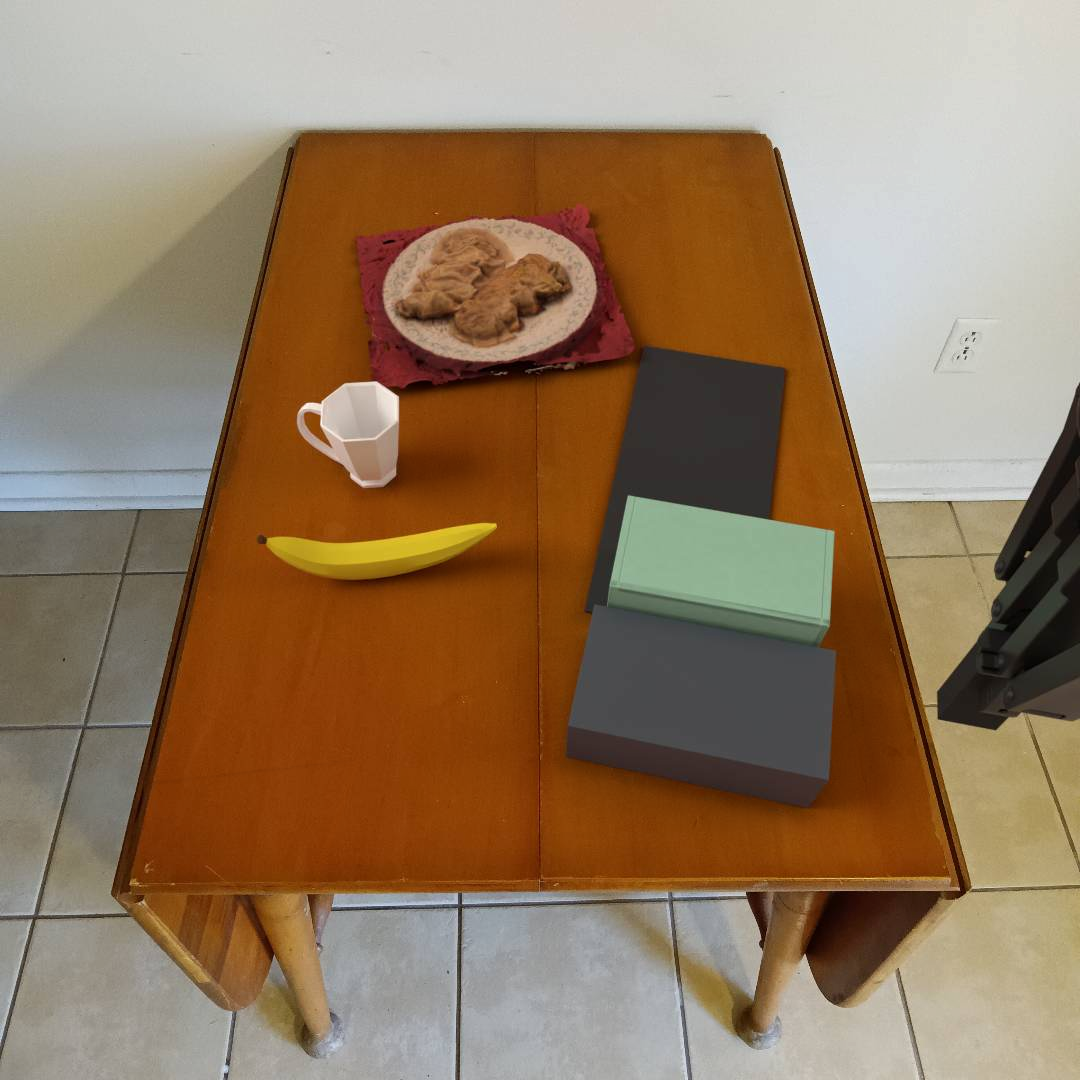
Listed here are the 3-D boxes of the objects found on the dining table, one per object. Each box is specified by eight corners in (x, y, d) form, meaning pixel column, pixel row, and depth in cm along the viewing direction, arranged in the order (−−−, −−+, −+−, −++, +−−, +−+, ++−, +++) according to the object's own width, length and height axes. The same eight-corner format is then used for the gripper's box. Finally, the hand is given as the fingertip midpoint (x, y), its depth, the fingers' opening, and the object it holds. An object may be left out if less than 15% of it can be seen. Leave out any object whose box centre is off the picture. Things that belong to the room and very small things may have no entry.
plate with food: (635, 366, 94) (639, 340, 91) (374, 396, 91) (369, 370, 88) (585, 216, 107) (587, 189, 104) (356, 237, 104) (351, 211, 101)
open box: (803, 675, 75) (809, 584, 79) (829, 626, 68) (834, 530, 73) (603, 637, 76) (620, 550, 81) (609, 586, 70) (628, 494, 74)
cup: (394, 509, 84) (382, 451, 77) (291, 481, 85) (270, 422, 79) (424, 450, 88) (414, 390, 81) (324, 424, 89) (307, 363, 82)
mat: (784, 369, 93) (785, 367, 93) (755, 645, 76) (755, 643, 76) (643, 347, 95) (644, 345, 95) (584, 612, 78) (584, 610, 78)
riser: (816, 685, 74) (836, 650, 69) (808, 808, 69) (829, 780, 64) (590, 640, 77) (594, 604, 72) (565, 756, 71) (567, 725, 66)
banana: (501, 572, 80) (499, 529, 75) (274, 595, 79) (255, 553, 74) (498, 543, 82) (495, 500, 77) (275, 565, 81) (257, 523, 75)
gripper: (1106, 198, 30) (887, 584, 50) (1167, 526, 23) (884, 826, 43) (1361, 228, 29) (1037, 609, 49) (1507, 580, 22) (1059, 861, 42)
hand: (966, 710), depth 46 cm, fingers closed
